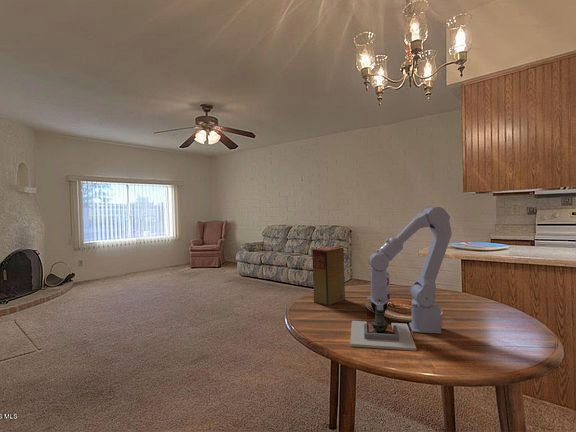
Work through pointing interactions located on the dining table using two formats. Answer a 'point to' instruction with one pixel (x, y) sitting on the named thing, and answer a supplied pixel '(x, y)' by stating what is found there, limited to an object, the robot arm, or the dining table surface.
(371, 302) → the supplement can
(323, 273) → the food packaging
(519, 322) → the dining table surface
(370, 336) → the board
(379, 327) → the black chess piece
